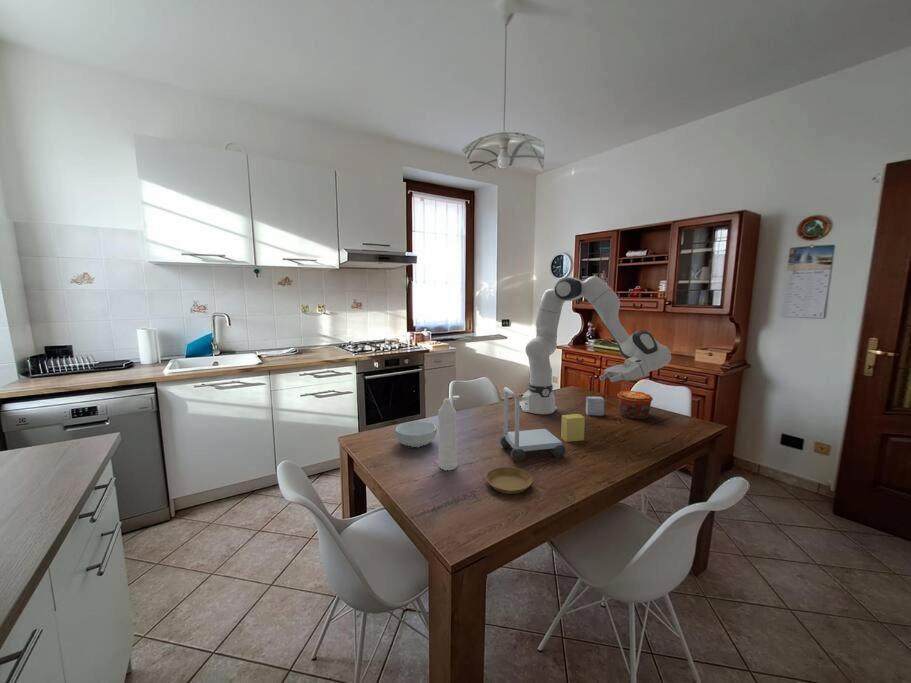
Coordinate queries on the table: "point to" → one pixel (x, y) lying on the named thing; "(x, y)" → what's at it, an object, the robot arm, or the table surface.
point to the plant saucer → (509, 480)
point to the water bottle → (447, 435)
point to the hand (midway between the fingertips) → (605, 379)
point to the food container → (634, 404)
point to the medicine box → (594, 406)
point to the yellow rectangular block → (572, 427)
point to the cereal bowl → (416, 433)
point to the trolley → (527, 435)
